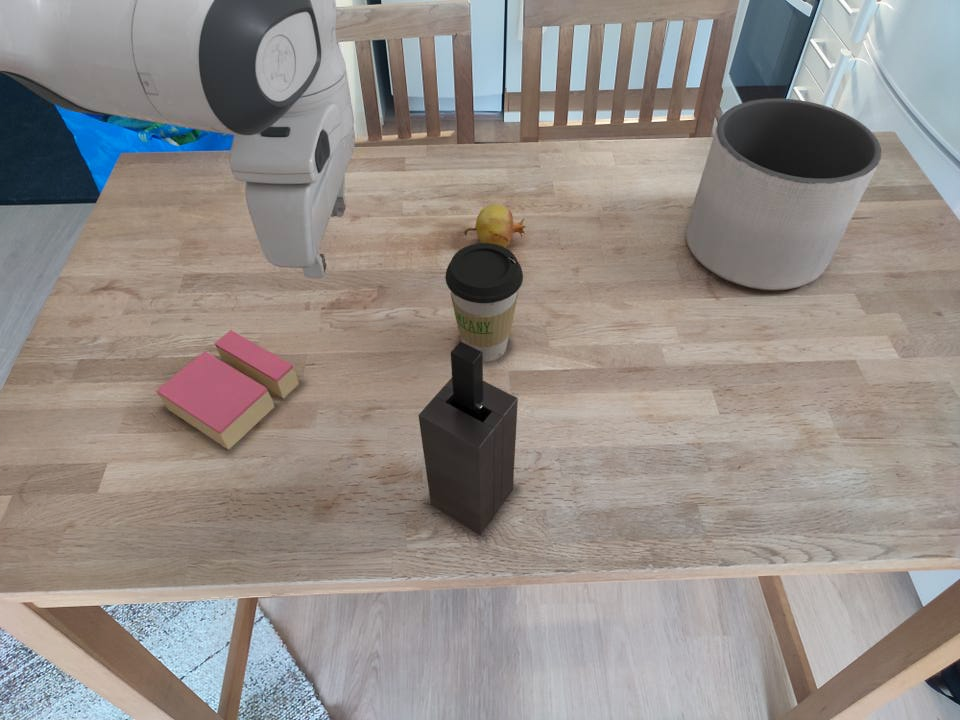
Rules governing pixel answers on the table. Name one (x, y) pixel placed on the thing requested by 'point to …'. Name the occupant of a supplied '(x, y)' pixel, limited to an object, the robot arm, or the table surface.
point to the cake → (216, 399)
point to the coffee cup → (484, 296)
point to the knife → (467, 379)
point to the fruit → (496, 225)
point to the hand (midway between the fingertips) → (327, 241)
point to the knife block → (469, 455)
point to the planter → (779, 191)
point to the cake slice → (257, 363)
